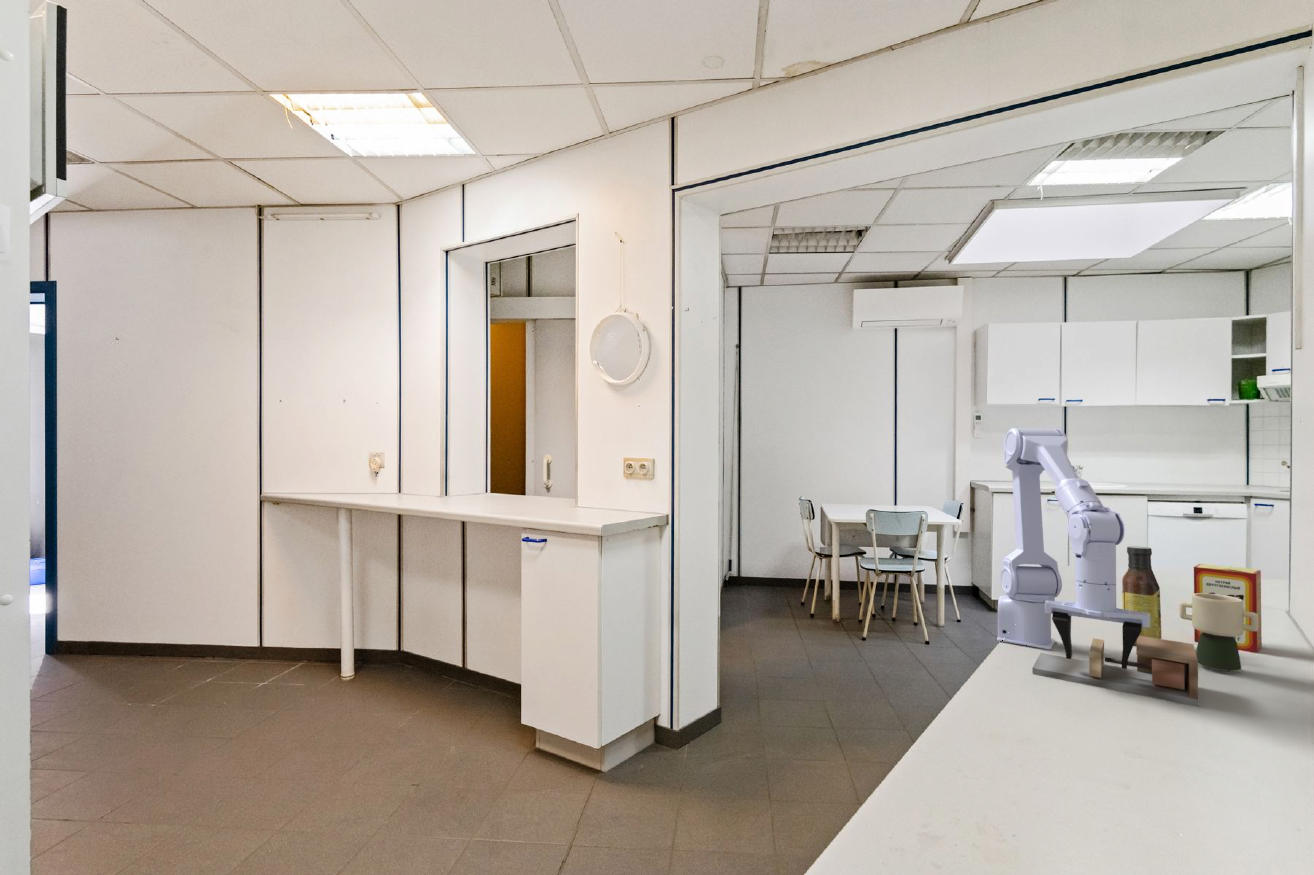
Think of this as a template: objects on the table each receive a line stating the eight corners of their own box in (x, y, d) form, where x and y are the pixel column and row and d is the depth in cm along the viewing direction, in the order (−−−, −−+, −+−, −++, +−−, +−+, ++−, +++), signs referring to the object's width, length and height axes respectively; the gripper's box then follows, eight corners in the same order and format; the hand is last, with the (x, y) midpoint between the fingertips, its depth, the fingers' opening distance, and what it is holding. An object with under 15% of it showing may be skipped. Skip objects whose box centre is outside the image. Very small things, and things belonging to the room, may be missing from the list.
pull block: (1089, 676, 104) (1089, 651, 104) (1093, 661, 112) (1093, 638, 112) (1185, 694, 97) (1185, 667, 97) (1182, 677, 105) (1182, 652, 105)
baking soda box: (1194, 641, 130) (1193, 565, 130) (1200, 636, 134) (1200, 562, 134) (1257, 653, 123) (1256, 572, 123) (1261, 647, 127) (1260, 568, 127)
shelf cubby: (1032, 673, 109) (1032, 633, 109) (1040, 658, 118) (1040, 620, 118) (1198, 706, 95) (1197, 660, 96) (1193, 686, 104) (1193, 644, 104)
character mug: (1263, 674, 111) (1262, 600, 111) (1254, 682, 106) (1253, 605, 107) (1185, 657, 119) (1185, 589, 120) (1174, 664, 115) (1173, 593, 116)
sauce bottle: (1168, 650, 124) (1167, 550, 124) (1133, 647, 125) (1132, 548, 126) (1149, 640, 130) (1148, 545, 131) (1116, 638, 131) (1115, 544, 132)
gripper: (1042, 579, 107) (1043, 658, 107) (1149, 591, 98) (1150, 678, 98) (1047, 573, 113) (1048, 649, 112) (1149, 584, 104) (1150, 667, 103)
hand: (1096, 662), depth 105 cm, fingers open, 7 cm apart
